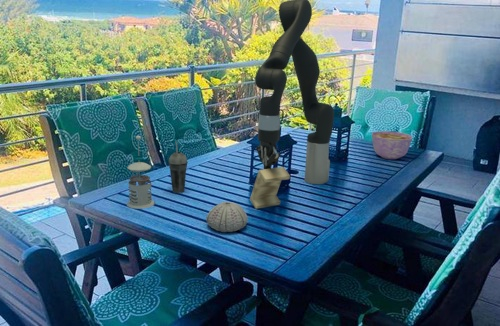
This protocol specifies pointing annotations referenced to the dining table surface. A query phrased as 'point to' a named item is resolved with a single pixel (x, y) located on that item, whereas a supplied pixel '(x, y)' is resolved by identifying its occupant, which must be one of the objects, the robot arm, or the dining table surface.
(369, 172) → the dining table surface
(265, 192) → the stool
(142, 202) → the french press
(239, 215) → the sea urchin shell
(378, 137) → the bowl of food
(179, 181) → the beverage cup
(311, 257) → the dining table surface
